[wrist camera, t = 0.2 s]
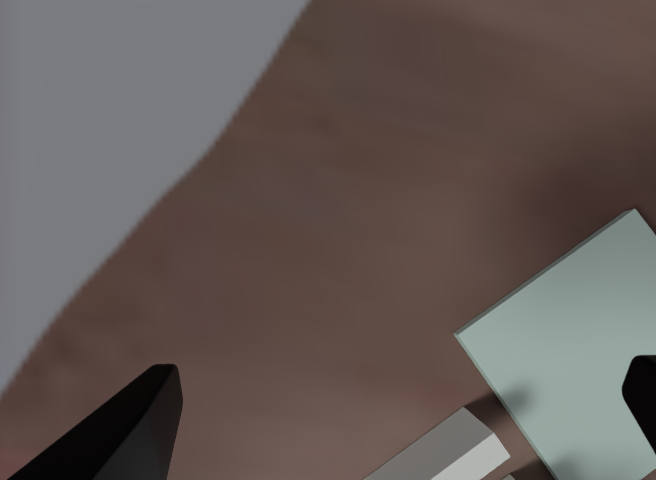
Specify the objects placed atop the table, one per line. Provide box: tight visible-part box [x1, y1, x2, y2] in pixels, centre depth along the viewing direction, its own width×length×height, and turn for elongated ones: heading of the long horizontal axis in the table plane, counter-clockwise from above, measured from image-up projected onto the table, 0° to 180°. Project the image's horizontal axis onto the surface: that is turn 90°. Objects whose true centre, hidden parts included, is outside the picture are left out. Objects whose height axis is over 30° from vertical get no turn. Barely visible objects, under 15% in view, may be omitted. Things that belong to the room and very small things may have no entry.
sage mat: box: [453, 209, 656, 480], centre depth 22 cm, size 11×12×1 cm
